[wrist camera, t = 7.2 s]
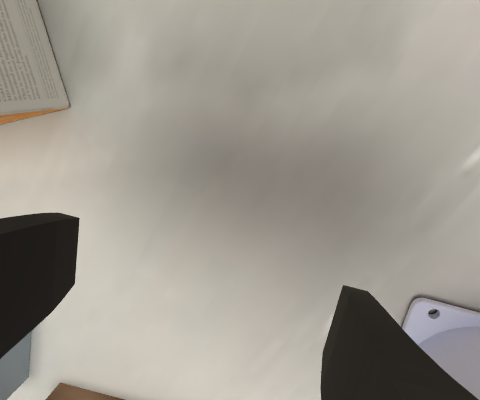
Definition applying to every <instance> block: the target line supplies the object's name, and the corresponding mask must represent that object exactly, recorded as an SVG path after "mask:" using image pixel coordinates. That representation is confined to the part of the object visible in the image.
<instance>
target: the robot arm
mask: <svg viewBox="0 0 480 400" xmlns="http://www.w3.org/2000/svg"><path fill="white" fill-rule="evenodd" d="M78 231H79V218H77V217H73V216H70V215H66V214H62V213H40V214H30V215H22V216H15V217H8V218H1V219H0V359H1V358H2V357H3V356H4V355H5V354H6V353H8V352H9V351H10V350H11V349H12V348H13V347H14V346H15V345H16V344H17V343H19V342H20V341H21V340H22V339H23V338H24V337H25V336H26V335H27V334H29V333H30V332H31V331H32V330H33V329H34V328H35V327H36V326H37V325H38V324H39V323H40V322H42V321H43V320H44V319H45V318H46V317H47V316H48V315H49V314H50V313H51V312H52V311H53V310H54V309H55V308H56V306H57V305H58V304H59V303H60V302H61V301H62V299H63V298H64V297H65V296H66V294H67V293H68V292H69V291H70V289H71V288H72V287H73V285H74V284H75V272H76V258H77V244H78ZM432 309H437V310H438V311H437V312H436V313H435V314H428V312H429V311H430V310H432ZM321 400H480V313H479V312H475V311H472V310H468V309H464V308H460V307H456V306H453V305H449V304H445V303H441V302H438V301H434V300H430V299H426V298H418V299H415V300H414V301H413V302H412V303H411V305H410V308H409V310H408V313H407V316H406V318H405V321H404V323H403V326H402V328H401V327H400V326H399V325H398V323H397V322H396V321H395V320H394V319H393V318H392V317H391V316H390V315H389V313H388V312H387V311H386V310H385V309H384V308H383V307H382V306H381V305H380V303H379V302H378V301H377V300H376V299H375V298H374V297H373V296H372V295H371V294H370V293H369V292H368V291H364V290H360V289H356V288H352V287H348V286H344V285H343V287H342V290H341V294H340V297H339V300H338V304H337V307H336V310H335V314H334V317H333V320H332V324H331V327H330V330H329V334H328V337H327V340H326V343H325V347H324V350H323V357H322V371H321Z"/></svg>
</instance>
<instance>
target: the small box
mask: <svg viewBox="0 0 480 400" xmlns="http://www.w3.org/2000/svg"><path fill="white" fill-rule="evenodd" d="M67 108H69V101H68V98H67V95H66V92H65V89H64V86H63V83H62V80H61V77H60V73H59V70H58V67H57V64H56V61H55V58H54V55H53V52H52V48H51V45H50V42H49V39H48V36H47V32H46V29H45V25H44V22H43V19H42V16H41V13H40V10H39V7H38V4H37V1H36V0H0V125H1V124H5V123H9V122H13V121H17V120H21V119H26V118H30V117H34V116H38V115H43V114H47V113H51V112H55V111H60V110H64V109H67Z"/></svg>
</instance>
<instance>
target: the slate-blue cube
mask: <svg viewBox="0 0 480 400" xmlns="http://www.w3.org/2000/svg"><path fill="white" fill-rule="evenodd" d="M30 346H31V332H30V333H29V334H27V335H26V336H25V337H24V338H23V339H22V340H21V341H20V342H19V343H17V344H16V345H15V346H14V347H13V348H12V349H11V350H10V351H9V352H8V353H6V354H5V355H4V356H3V357H2V358H1V359H0V400H7V399H8V398H9V397H10V396H11V394H12V393H13V392H14V391H15V390H16V389H17V388H18V387H19V386H20V385H21V384H22V383H23V382H24V381H25V380H26V379H27V378H28V377H29V363H30Z"/></svg>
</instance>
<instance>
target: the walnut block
mask: <svg viewBox="0 0 480 400" xmlns="http://www.w3.org/2000/svg"><path fill="white" fill-rule="evenodd" d="M46 400H124V399H120V398H116V397H112V396H108V395H105V394H101V393H97V392H93V391H89V390H86V389H82V388H78V387H74V386H70V385H67V384H63V383H60V384H59V385H58V386H57V387H56V388H55V389H54V391H53V392H52V393H51V394H50V395H49V396H48V398H47V399H46Z"/></svg>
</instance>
